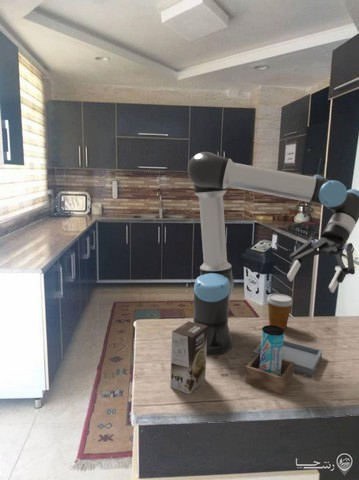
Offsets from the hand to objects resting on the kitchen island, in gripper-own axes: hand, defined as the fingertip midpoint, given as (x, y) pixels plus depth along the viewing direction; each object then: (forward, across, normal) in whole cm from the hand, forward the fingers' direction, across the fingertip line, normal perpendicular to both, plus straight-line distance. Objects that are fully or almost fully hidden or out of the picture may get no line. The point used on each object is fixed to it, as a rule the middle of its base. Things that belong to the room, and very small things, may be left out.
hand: (308, 284), depth 105 cm
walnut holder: (+29, +1, -7) cm, 30 cm away
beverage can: (+29, +1, -7) cm, 30 cm away
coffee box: (+43, +14, +7) cm, 46 cm away
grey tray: (+19, +4, -17) cm, 26 cm away
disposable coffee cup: (+6, +20, -30) cm, 37 cm away
